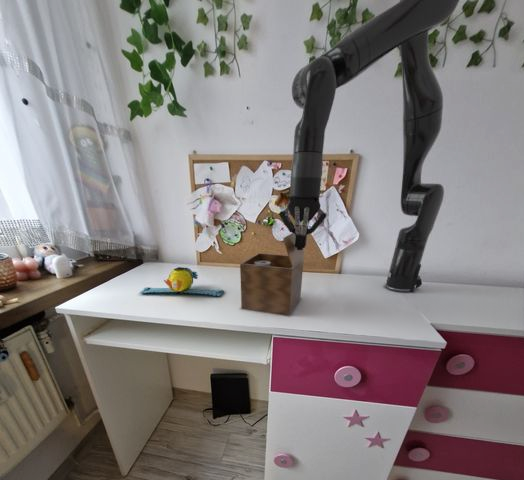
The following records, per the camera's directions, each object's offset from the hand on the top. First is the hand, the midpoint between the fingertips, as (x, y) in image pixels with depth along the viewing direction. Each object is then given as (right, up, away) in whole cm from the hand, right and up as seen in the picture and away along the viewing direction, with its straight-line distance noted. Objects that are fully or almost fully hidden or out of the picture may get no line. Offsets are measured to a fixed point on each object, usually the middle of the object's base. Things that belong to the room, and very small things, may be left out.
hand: (300, 249), depth 76 cm
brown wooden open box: (-7, -13, +11) cm, 19 cm away
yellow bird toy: (-38, -8, +20) cm, 44 cm away
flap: (-2, +1, 0) cm, 2 cm away
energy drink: (-11, -12, +12) cm, 20 cm away
